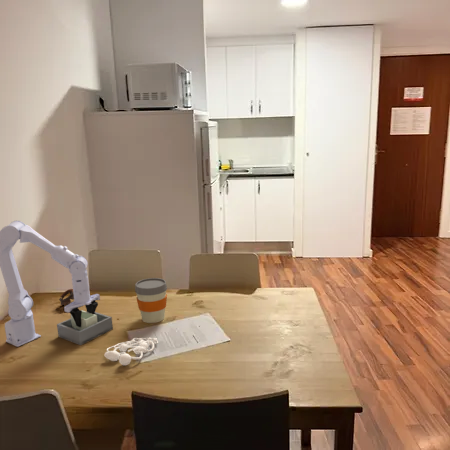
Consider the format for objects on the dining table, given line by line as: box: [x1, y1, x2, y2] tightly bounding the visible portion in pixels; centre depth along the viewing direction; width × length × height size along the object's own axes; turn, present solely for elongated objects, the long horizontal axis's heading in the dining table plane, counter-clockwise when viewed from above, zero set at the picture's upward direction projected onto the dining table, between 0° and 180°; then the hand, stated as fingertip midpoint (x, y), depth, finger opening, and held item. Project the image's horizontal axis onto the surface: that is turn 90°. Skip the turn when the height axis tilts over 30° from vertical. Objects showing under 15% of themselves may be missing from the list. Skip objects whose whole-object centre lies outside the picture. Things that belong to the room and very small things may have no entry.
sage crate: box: [70, 309, 98, 330], centre depth 168 cm, size 5×9×5 cm, turn 55°
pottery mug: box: [58, 288, 74, 306], centre depth 197 cm, size 12×10×8 cm
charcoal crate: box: [56, 310, 114, 346], centre depth 168 cm, size 15×13×5 cm
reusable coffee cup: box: [134, 277, 168, 324], centre depth 178 cm, size 13×13×15 cm
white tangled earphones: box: [104, 337, 159, 366], centre depth 153 cm, size 19×14×4 cm
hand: (84, 323), depth 168 cm, fingers closed on sage crate, 5 cm apart
